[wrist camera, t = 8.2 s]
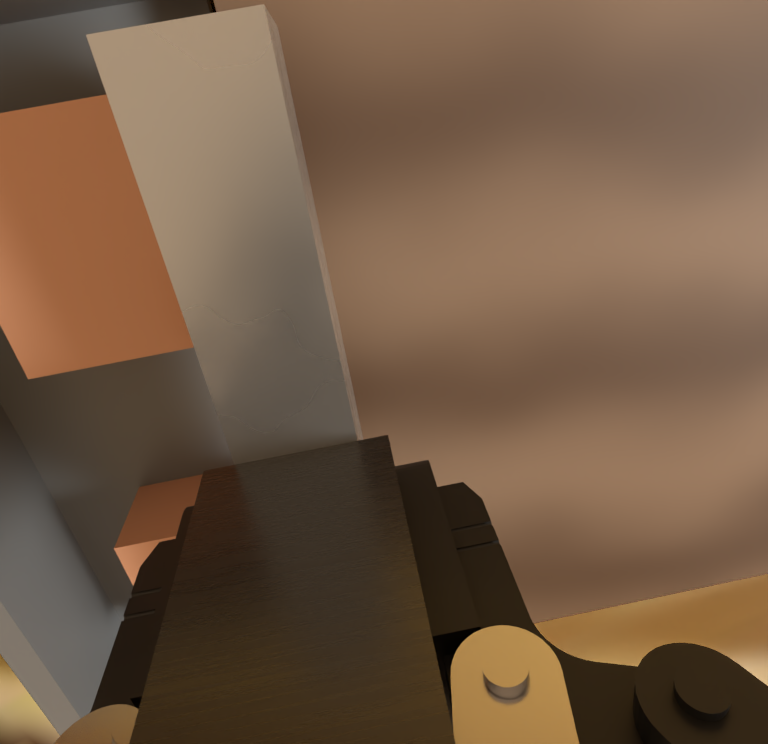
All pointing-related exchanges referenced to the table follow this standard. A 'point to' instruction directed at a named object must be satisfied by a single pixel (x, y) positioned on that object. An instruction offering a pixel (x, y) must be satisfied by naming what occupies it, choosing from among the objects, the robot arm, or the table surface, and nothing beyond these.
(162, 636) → the gray bar with block
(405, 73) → the board
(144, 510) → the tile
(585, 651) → the table surface
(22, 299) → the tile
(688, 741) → the robot arm
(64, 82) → the box
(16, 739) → the table surface
